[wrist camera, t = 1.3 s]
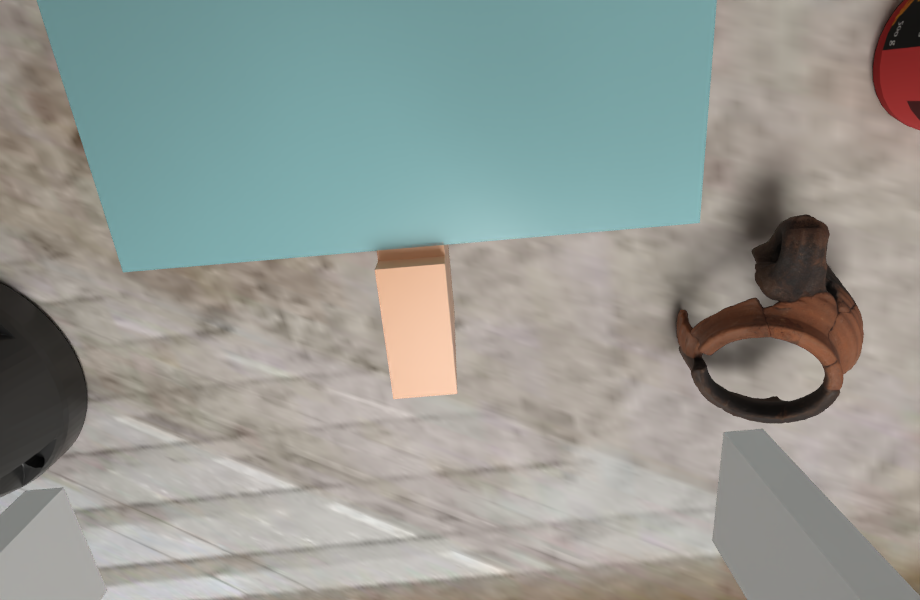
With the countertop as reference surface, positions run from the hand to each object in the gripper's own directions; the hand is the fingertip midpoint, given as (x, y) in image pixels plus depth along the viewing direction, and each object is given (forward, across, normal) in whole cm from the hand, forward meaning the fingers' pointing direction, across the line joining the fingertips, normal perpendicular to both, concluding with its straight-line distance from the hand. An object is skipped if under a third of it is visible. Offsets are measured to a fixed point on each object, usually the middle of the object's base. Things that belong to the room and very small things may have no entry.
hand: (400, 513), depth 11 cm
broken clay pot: (+22, +19, -5) cm, 30 cm away
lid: (+17, 0, +7) cm, 19 cm away
